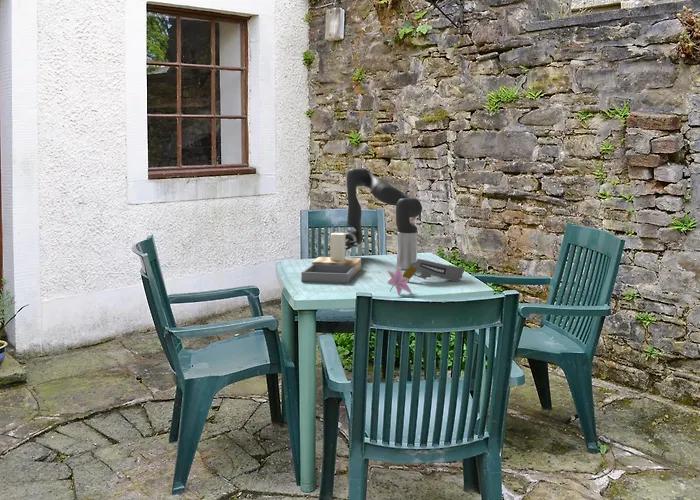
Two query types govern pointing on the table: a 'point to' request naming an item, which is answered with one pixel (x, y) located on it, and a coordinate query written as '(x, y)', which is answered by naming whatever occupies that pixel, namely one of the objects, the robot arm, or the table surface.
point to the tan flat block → (339, 262)
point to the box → (328, 273)
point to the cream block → (337, 246)
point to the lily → (398, 281)
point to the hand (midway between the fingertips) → (341, 245)
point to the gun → (434, 270)
